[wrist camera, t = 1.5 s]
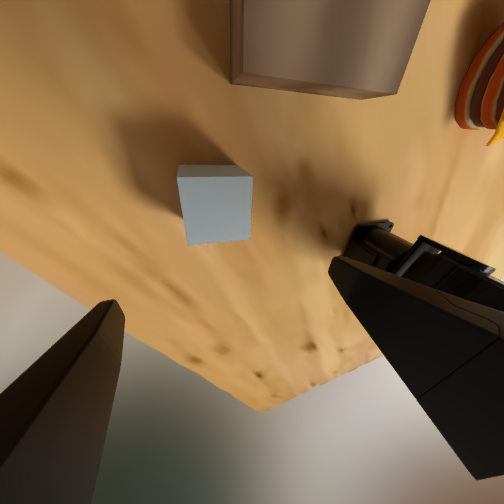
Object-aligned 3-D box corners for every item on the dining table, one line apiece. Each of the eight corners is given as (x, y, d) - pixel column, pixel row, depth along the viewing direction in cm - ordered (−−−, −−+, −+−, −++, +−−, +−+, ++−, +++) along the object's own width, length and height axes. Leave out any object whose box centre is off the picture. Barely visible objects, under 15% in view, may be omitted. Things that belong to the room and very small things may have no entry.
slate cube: (236, 164, 17) (252, 176, 13) (236, 216, 20) (249, 239, 16) (178, 164, 16) (176, 177, 12) (187, 220, 18) (187, 245, 14)
